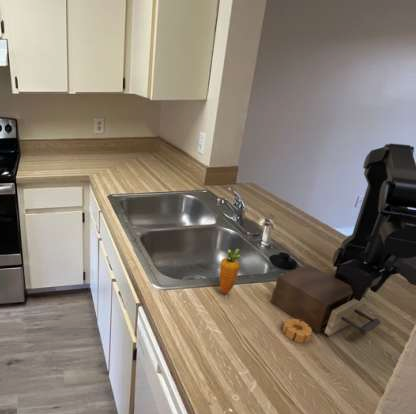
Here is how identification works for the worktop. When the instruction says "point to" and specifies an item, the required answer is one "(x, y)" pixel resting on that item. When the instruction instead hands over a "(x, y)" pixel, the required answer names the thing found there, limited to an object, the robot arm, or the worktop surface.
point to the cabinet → (309, 295)
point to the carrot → (229, 271)
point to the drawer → (347, 316)
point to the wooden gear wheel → (297, 330)
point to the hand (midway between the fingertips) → (365, 295)
